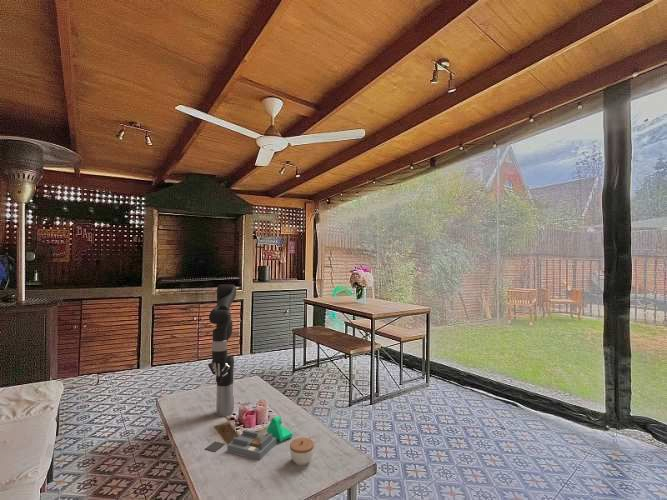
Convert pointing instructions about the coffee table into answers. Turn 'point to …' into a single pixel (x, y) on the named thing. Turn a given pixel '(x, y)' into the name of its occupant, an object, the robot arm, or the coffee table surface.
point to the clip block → (256, 442)
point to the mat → (214, 446)
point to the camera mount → (278, 429)
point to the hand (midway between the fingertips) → (219, 382)
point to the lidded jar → (301, 450)
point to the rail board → (243, 446)
